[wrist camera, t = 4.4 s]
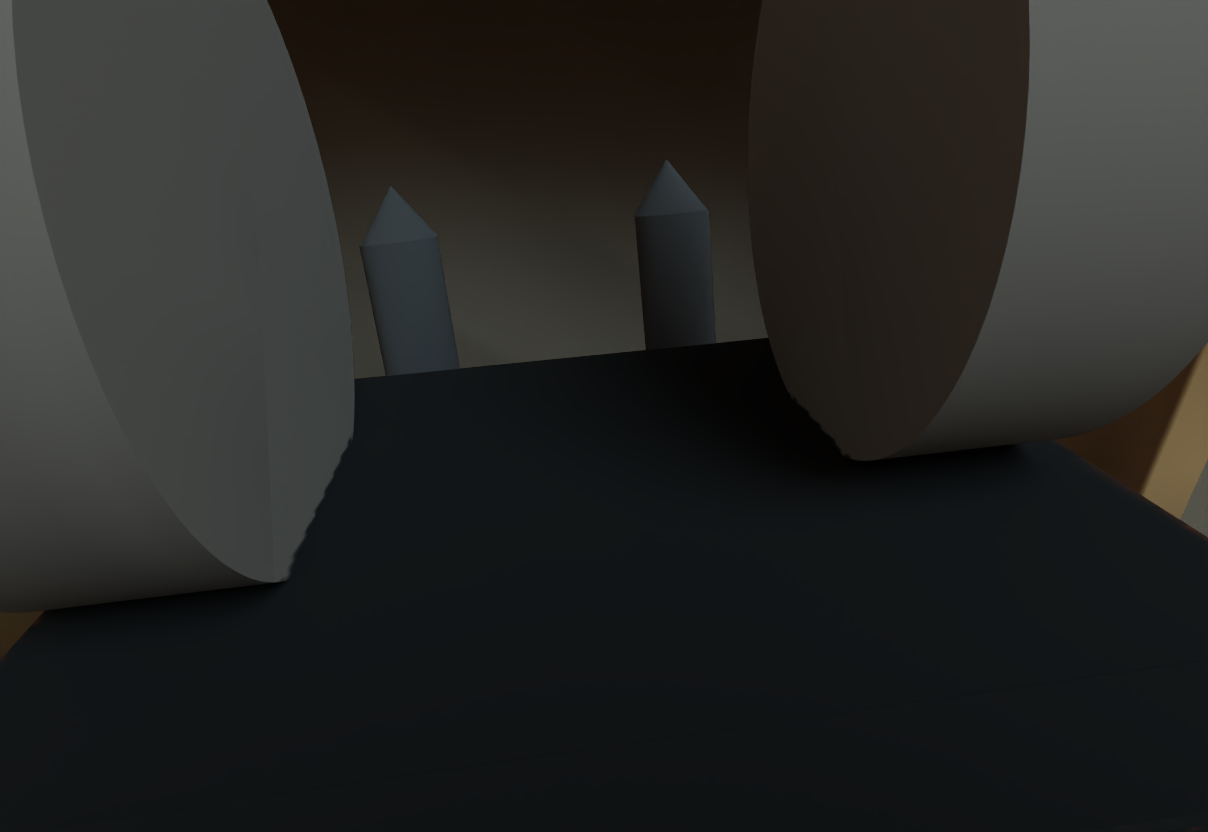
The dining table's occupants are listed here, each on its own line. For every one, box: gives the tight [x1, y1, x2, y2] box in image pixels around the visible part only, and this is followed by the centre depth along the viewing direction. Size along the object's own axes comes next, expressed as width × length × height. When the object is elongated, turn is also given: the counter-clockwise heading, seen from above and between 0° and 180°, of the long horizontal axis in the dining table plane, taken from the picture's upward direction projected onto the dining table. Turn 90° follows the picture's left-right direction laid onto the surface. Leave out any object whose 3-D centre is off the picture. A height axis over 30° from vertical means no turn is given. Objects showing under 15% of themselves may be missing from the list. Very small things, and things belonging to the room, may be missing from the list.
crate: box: [0, 343, 1208, 659], centre depth 11 cm, size 21×17×5 cm
